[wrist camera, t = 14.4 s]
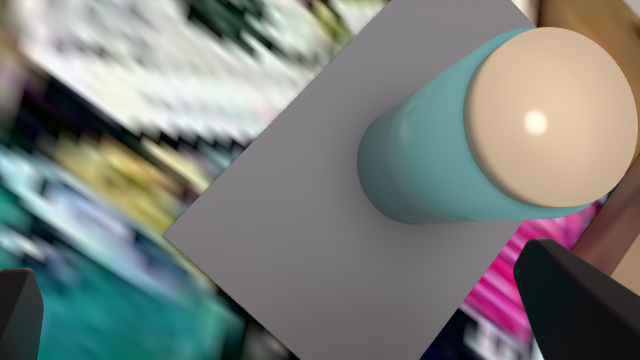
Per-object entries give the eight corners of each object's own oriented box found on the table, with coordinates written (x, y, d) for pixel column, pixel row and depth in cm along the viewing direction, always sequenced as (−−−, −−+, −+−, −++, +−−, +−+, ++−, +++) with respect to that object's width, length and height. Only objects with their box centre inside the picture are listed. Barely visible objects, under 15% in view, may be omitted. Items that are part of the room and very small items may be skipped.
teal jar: (488, 190, 24) (677, 161, 15) (392, 246, 23) (529, 255, 13) (435, 86, 24) (589, -13, 14) (335, 136, 23) (431, 63, 13)
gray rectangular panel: (442, -51, 26) (451, -62, 25) (596, 110, 28) (610, 105, 27) (163, 234, 22) (161, 234, 21) (363, 414, 23) (370, 422, 22)
